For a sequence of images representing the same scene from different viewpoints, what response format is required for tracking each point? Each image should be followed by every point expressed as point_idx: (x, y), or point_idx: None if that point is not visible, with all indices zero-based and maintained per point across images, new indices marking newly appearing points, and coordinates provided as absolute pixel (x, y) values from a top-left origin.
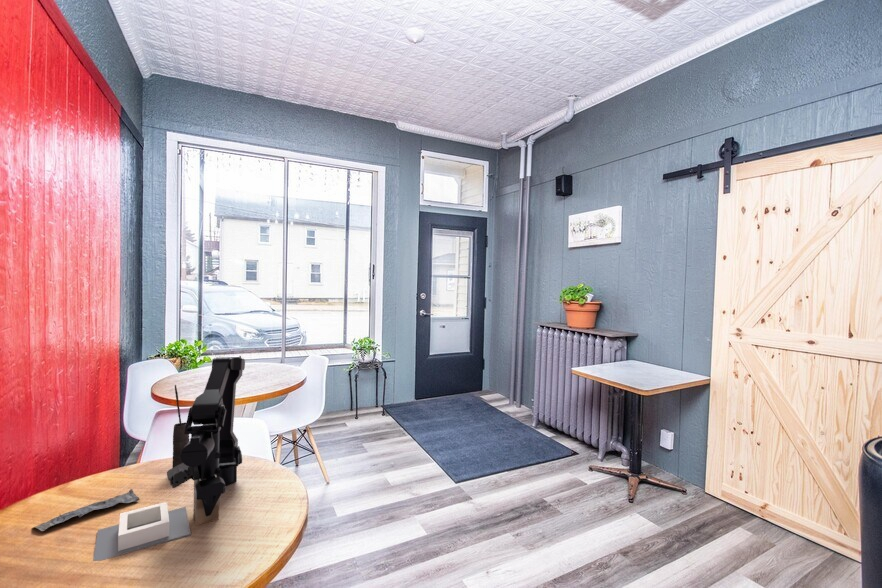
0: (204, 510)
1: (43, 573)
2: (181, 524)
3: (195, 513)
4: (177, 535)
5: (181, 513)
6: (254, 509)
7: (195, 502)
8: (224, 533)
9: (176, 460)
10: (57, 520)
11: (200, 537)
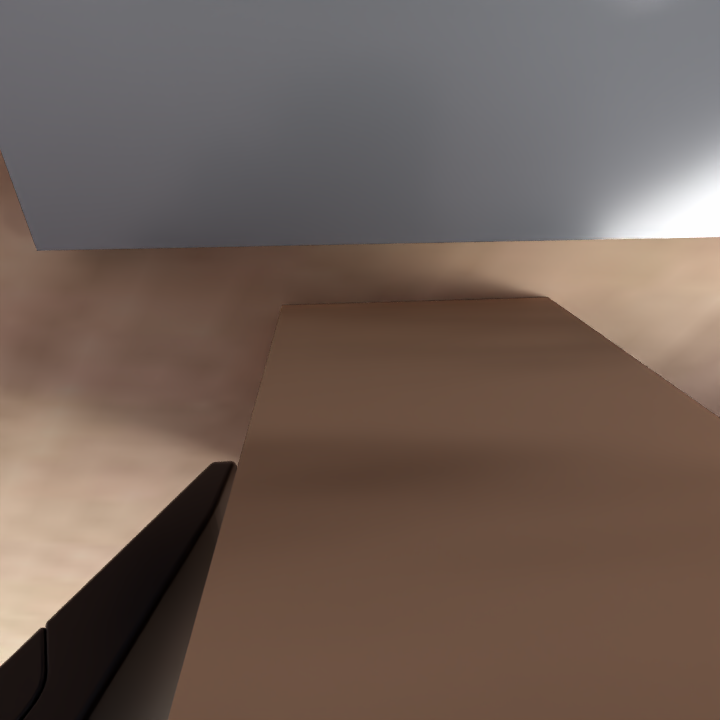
0: (185, 518)
1: None
2: (344, 150)
3: (376, 357)
4: (30, 66)
5: (653, 172)
6: None
7: (425, 473)
8: (49, 500)
9: None
10: None
11: (42, 329)
